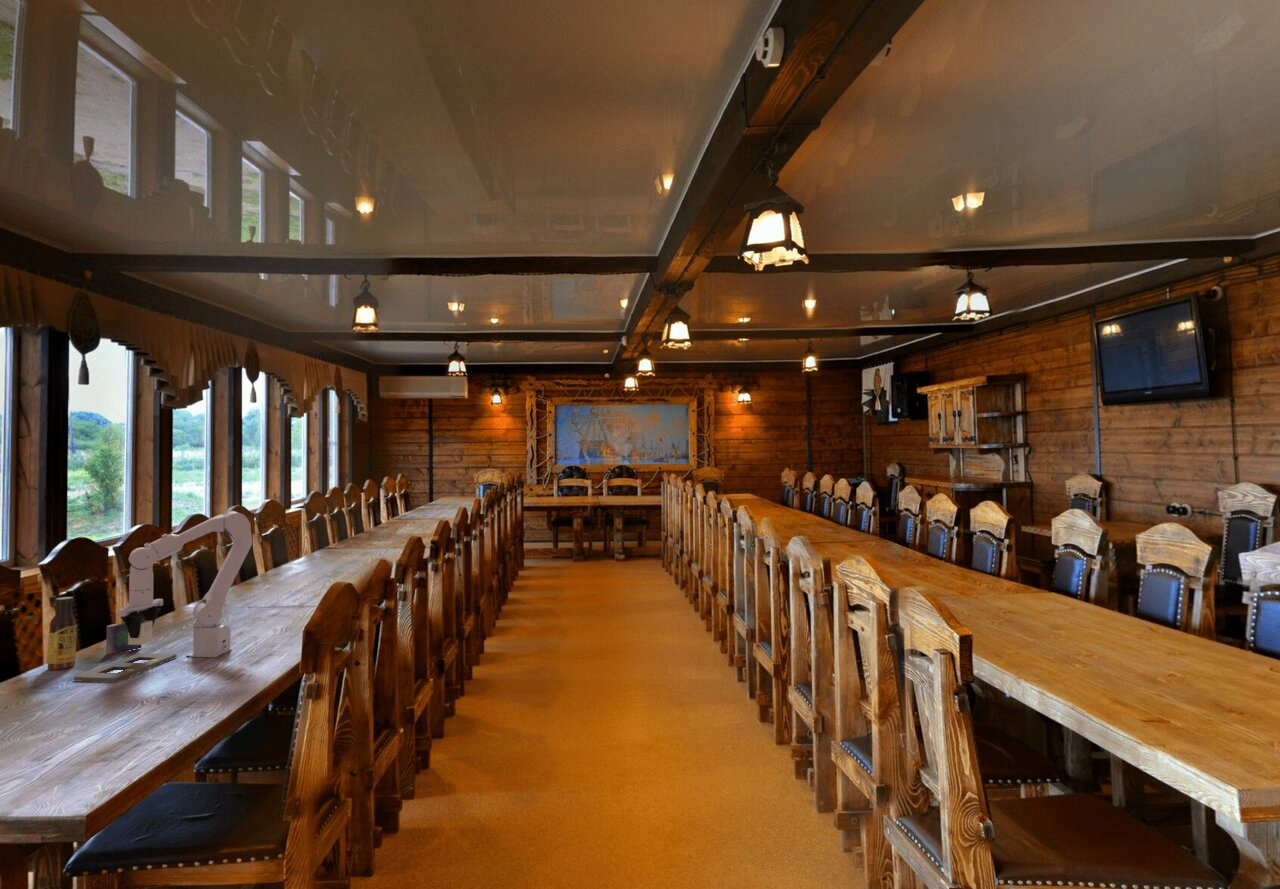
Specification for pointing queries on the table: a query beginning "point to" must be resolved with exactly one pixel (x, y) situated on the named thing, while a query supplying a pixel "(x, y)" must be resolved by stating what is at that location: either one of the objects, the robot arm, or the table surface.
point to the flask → (118, 639)
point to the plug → (142, 634)
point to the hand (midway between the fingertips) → (140, 635)
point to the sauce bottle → (62, 636)
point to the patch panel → (124, 667)
